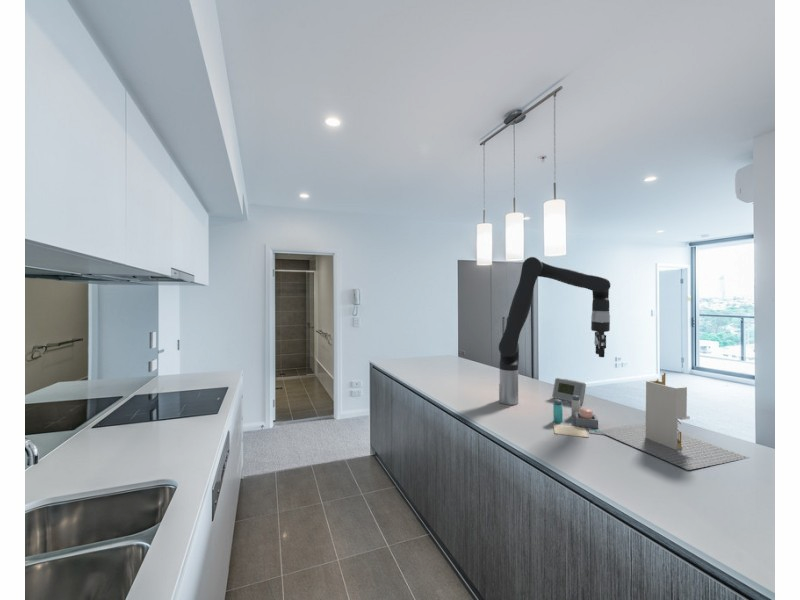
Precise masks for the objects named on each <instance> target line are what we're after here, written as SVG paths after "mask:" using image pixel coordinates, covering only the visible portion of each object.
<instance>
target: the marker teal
mask: <svg viewBox="0 0 800 600" xmlns="http://www.w3.org/2000/svg"><path fill="white" fill-rule="evenodd" d="M552 407H553V411H552V413H553V415H552V416H553V423H557V424H562V423H563V402H562V400H559V399H554V401H553V406H552Z"/></svg>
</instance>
